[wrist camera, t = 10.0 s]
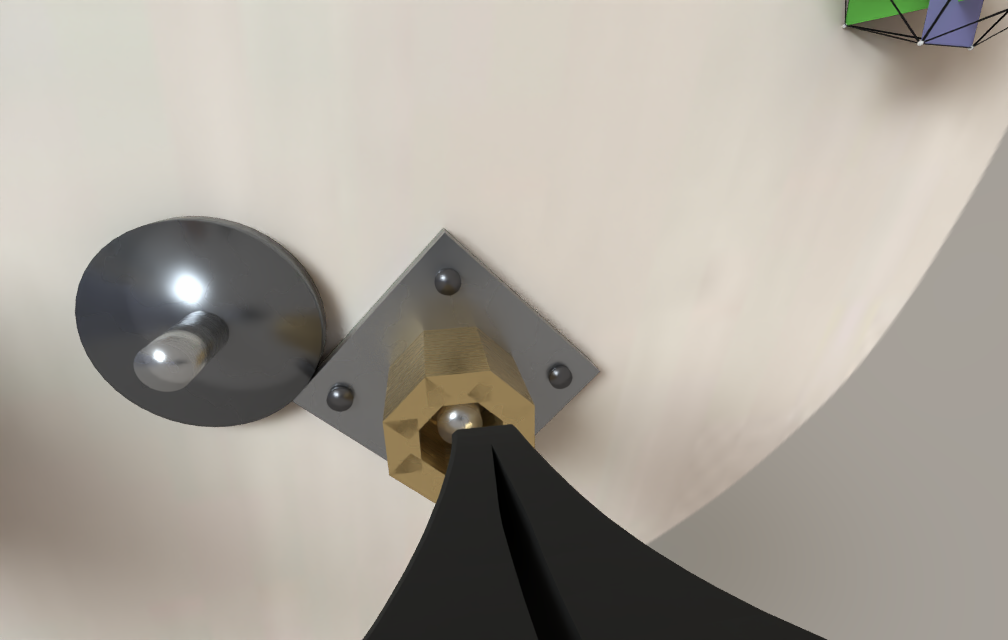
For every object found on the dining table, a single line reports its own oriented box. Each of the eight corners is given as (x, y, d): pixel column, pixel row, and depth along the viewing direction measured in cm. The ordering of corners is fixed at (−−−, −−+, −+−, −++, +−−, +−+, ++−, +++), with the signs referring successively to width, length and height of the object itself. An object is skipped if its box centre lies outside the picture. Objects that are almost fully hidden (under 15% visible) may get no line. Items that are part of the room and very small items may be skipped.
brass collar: (458, 455, 21) (467, 522, 17) (365, 393, 19) (353, 453, 15) (536, 376, 20) (563, 428, 16) (448, 303, 18) (456, 343, 14)
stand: (247, 446, 20) (208, 515, 16) (47, 334, 17) (-55, 386, 13) (368, 311, 19) (356, 351, 15) (177, 166, 16) (104, 173, 12)
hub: (459, 492, 23) (468, 560, 19) (298, 389, 19) (271, 446, 16) (592, 361, 21) (628, 407, 18) (443, 228, 18) (449, 249, 14)
